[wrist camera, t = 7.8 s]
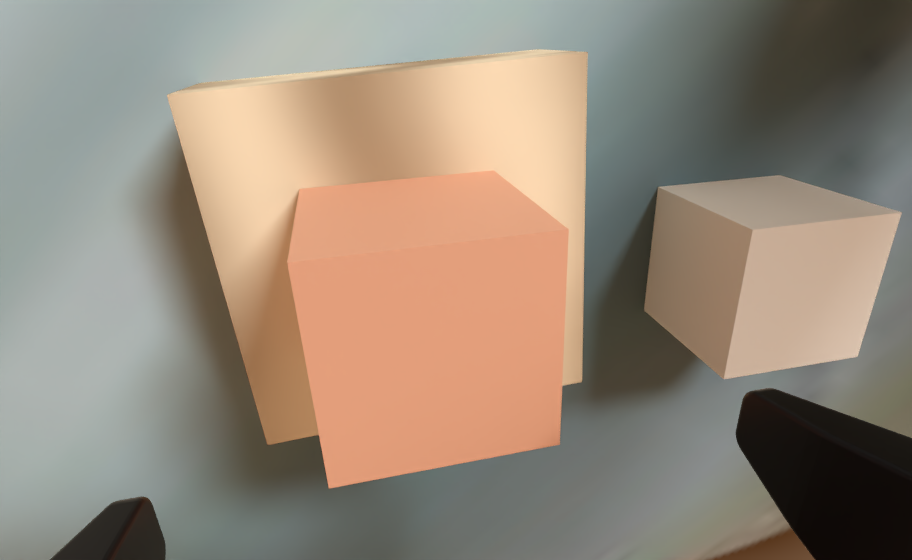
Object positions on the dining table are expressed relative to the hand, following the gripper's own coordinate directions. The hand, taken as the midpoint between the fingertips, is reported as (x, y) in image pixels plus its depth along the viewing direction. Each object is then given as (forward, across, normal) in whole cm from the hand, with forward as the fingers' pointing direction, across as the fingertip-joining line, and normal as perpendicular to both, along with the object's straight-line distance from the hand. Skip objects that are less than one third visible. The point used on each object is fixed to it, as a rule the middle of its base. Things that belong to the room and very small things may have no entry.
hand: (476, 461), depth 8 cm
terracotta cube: (+8, 0, 0) cm, 8 cm away
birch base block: (+12, 0, 0) cm, 12 cm away
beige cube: (+11, -12, +2) cm, 17 cm away
